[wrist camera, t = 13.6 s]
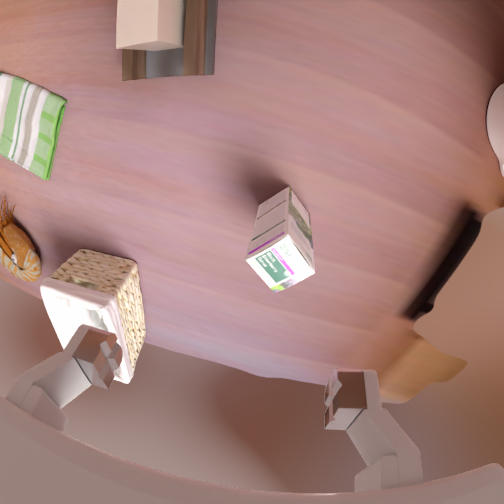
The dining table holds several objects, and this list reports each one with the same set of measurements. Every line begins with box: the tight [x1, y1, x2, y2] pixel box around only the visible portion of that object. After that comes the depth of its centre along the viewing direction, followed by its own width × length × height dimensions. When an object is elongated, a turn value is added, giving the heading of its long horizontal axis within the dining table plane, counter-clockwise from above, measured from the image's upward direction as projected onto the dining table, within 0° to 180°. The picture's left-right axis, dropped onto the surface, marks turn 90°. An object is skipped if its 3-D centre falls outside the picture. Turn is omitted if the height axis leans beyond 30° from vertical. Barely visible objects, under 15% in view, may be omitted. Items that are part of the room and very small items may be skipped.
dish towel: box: [0, 72, 67, 180], centre depth 38 cm, size 17×23×4 cm
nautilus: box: [0, 196, 41, 282], centre depth 51 cm, size 8×22×15 cm
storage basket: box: [40, 249, 146, 383], centre depth 53 cm, size 24×16×15 cm
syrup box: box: [245, 187, 315, 293], centre depth 38 cm, size 6×6×14 cm
